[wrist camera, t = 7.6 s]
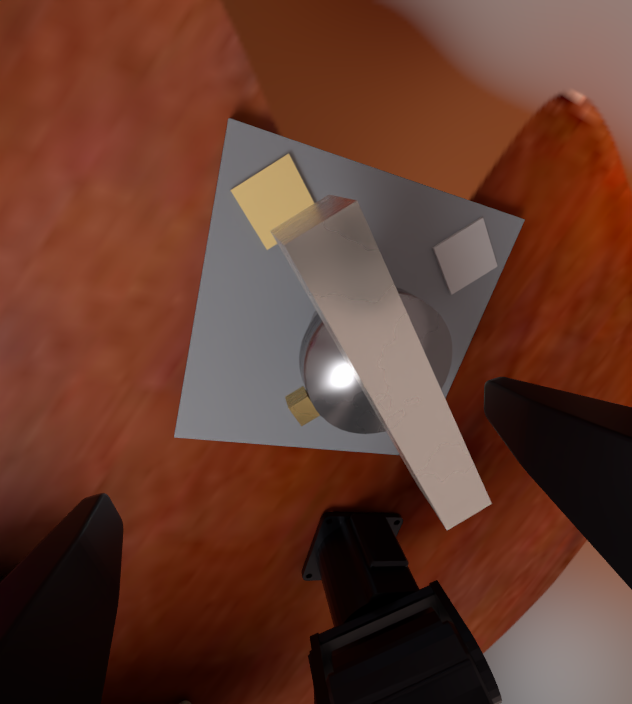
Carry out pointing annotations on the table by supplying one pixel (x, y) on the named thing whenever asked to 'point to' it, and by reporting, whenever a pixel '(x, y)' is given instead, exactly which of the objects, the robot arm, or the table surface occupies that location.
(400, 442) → the handle
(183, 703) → the tabletop clock
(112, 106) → the table surface
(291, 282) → the base
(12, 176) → the table surface
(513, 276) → the table surface
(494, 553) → the table surface
